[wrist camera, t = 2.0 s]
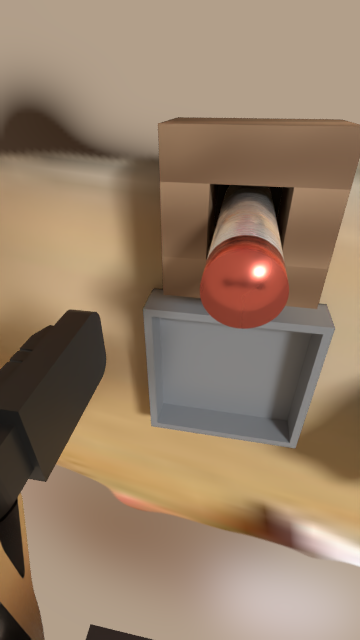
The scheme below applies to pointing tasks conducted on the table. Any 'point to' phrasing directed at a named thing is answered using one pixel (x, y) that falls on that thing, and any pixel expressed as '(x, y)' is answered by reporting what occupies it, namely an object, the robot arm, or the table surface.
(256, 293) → the pin
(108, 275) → the table surface
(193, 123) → the socket block
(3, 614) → the robot arm
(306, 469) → the table surface
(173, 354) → the tray
